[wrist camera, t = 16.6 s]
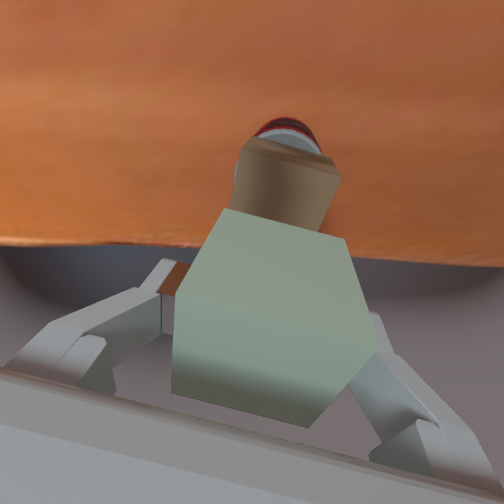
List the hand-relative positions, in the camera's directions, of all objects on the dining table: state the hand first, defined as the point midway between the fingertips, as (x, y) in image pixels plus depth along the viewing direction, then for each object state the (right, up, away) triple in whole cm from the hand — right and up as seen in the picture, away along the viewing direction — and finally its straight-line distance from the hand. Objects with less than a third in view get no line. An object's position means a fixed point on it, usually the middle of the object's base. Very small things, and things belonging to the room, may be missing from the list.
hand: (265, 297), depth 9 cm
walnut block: (+2, +7, +11) cm, 13 cm away
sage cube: (0, +1, +1) cm, 2 cm away
